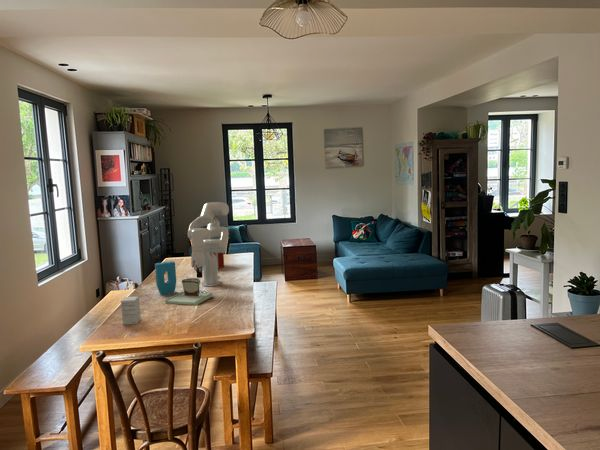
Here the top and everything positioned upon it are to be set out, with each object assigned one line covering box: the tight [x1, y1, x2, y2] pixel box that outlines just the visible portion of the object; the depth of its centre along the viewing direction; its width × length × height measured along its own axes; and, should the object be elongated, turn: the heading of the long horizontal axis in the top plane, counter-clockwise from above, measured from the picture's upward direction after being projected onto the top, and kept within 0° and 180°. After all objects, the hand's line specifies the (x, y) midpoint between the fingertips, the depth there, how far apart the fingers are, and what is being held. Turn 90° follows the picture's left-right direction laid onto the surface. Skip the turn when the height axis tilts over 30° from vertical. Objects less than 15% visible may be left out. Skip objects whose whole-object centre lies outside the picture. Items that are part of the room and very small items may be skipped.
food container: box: [181, 277, 202, 297], centre depth 273 cm, size 12×6×10 cm, turn 73°
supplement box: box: [120, 295, 141, 325], centre depth 229 cm, size 7×7×13 cm
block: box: [154, 261, 177, 296], centre depth 284 cm, size 12×5×20 cm, turn 123°
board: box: [164, 291, 213, 306], centre depth 268 cm, size 19×21×2 cm
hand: (199, 277), depth 280 cm, fingers closed
